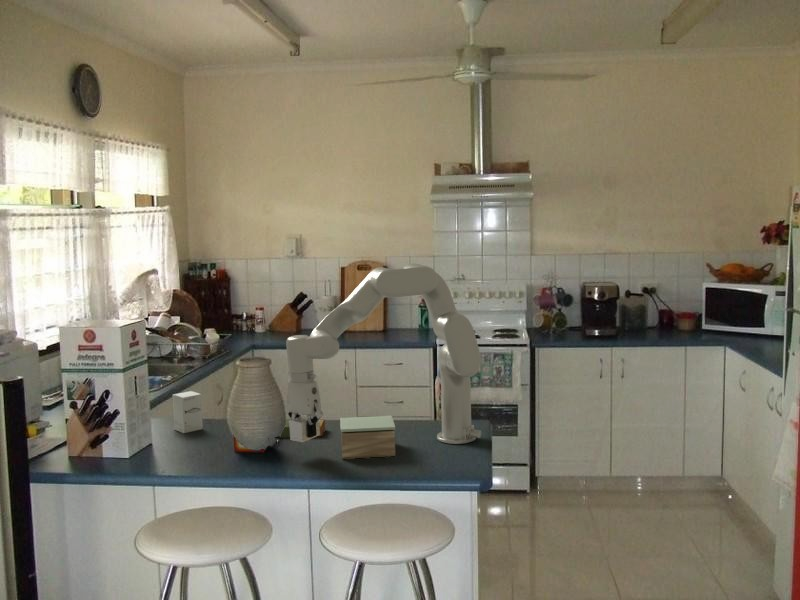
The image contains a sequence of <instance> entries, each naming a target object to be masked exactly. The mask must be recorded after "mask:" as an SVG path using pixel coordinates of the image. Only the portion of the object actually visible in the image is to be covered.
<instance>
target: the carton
mask: <svg viewBox="0 0 800 600" xmlns="http://www.w3.org/2000/svg"><path fill="white" fill-rule="evenodd" d="M285 420H286V425H285V428H284V430H283V432H282V434H281V437H280V438H290V428H289V421H290V420H291V419H285ZM319 421H320V435H319V436H322V437H323V435H324V433H325V431H326V420H325V419H323V418H322V419H319ZM324 430H325V431H324ZM323 432H324V433H323Z"/></svg>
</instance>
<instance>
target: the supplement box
mask: <svg viewBox="0 0 800 600" xmlns="http://www.w3.org/2000/svg"><path fill="white" fill-rule="evenodd" d="M171 397H172V411H173V430H175V431H177V432H179V433H181V434H186V433H191V432H196V431H201V430H203V427H204V425H203V408H202V406H203V405H202V394H201V393H199V392H196V391H192V390H191V391H184V392H180V393H179V392H178V393H173V394H172V396H171Z"/></svg>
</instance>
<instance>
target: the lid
mask: <svg viewBox="0 0 800 600" xmlns="http://www.w3.org/2000/svg"><path fill="white" fill-rule="evenodd" d="M339 420H340V421H339V422H340V423H339V426H340V433H341V432H355V431H376V430H396V425H395V422H394V418H393V416H392V415H379V416H378V415H376V416H355V417H352V416H351V417H340V418H339Z"/></svg>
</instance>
